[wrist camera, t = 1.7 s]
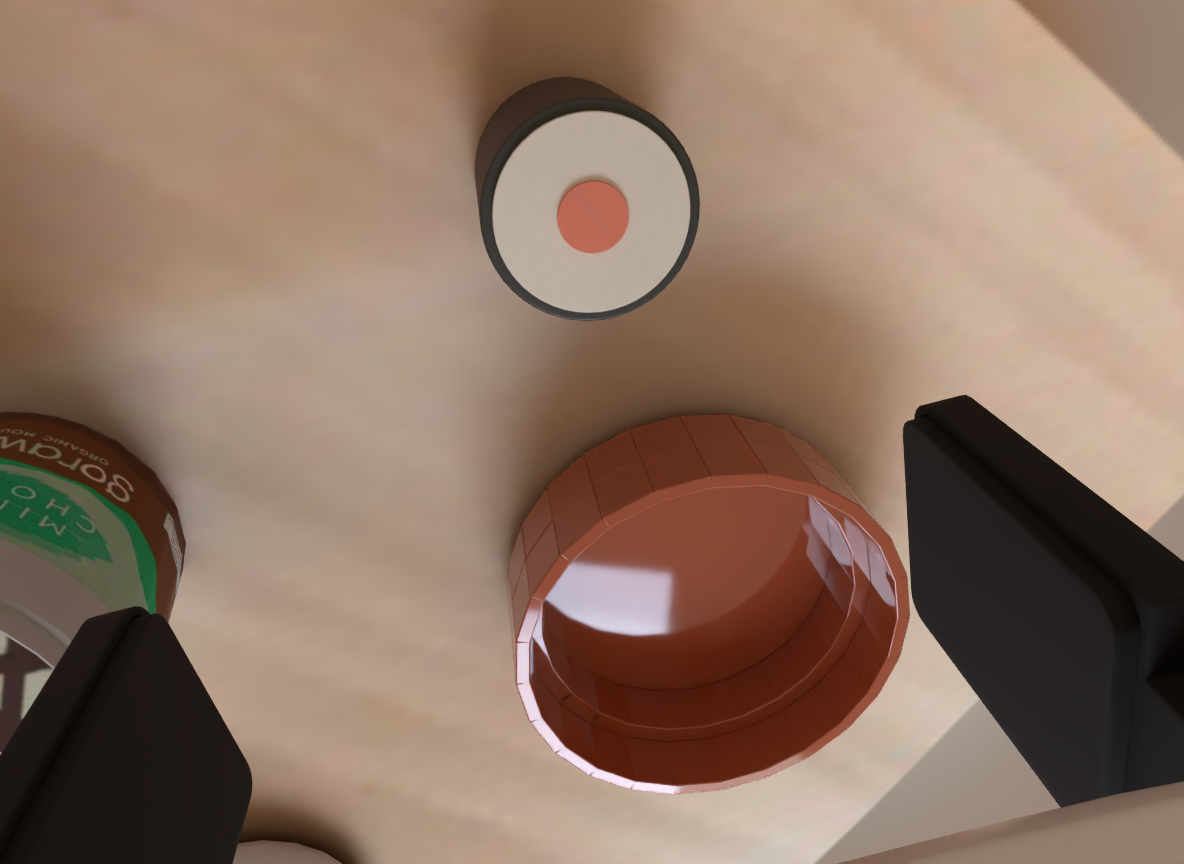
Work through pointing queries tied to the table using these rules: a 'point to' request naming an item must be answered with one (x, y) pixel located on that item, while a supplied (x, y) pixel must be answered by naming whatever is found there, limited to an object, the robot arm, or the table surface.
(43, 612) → the food container
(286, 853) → the donut
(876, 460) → the table surface
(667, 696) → the bowl
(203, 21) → the table surface
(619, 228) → the sushi roll
